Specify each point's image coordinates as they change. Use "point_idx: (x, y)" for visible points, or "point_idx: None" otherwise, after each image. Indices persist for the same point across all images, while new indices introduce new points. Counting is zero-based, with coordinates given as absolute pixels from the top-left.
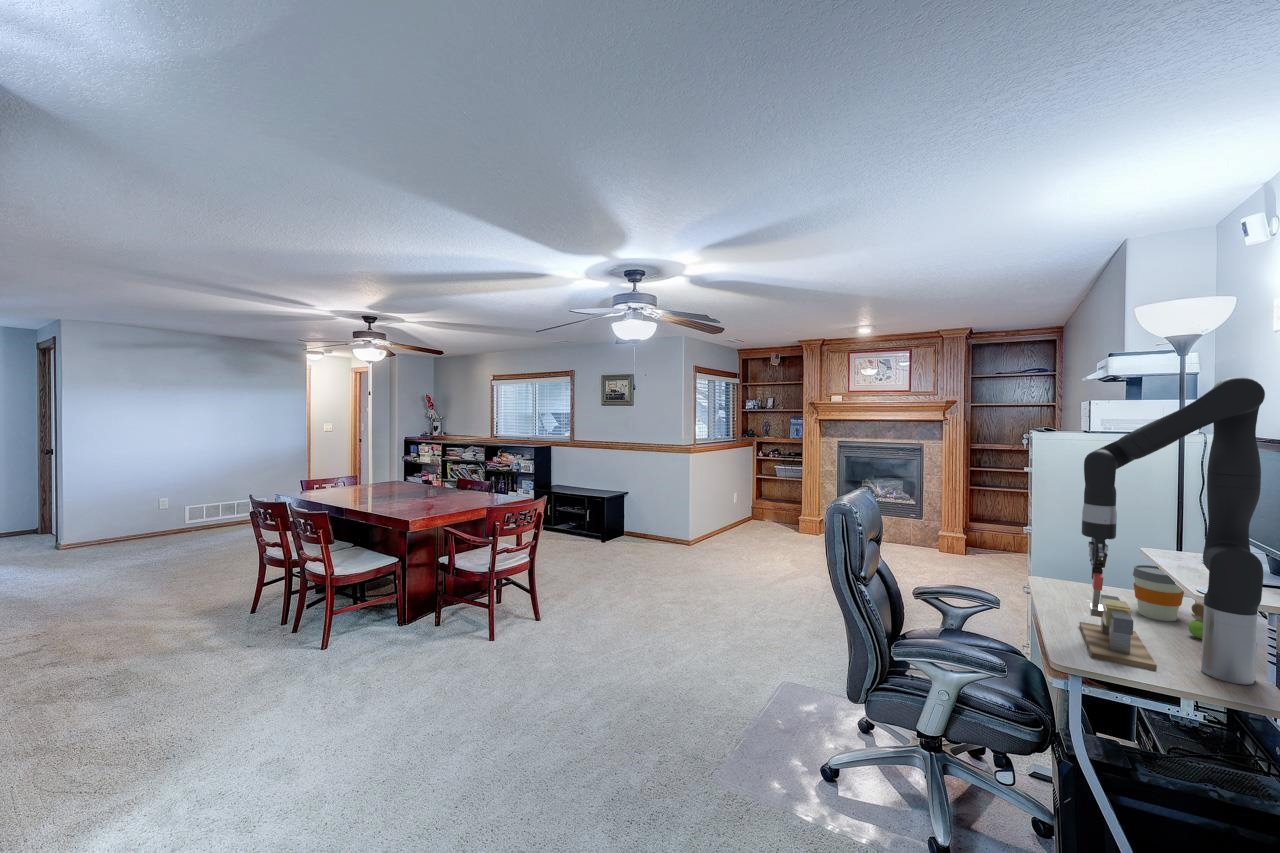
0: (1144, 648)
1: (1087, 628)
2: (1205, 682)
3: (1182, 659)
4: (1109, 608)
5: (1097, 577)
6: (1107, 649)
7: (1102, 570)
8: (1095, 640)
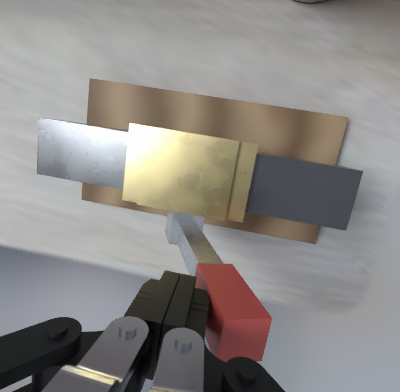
0: (228, 103)
1: None
2: (381, 25)
3: (228, 20)
4: (244, 212)
5: (264, 345)
6: None
7: (185, 319)
8: None
